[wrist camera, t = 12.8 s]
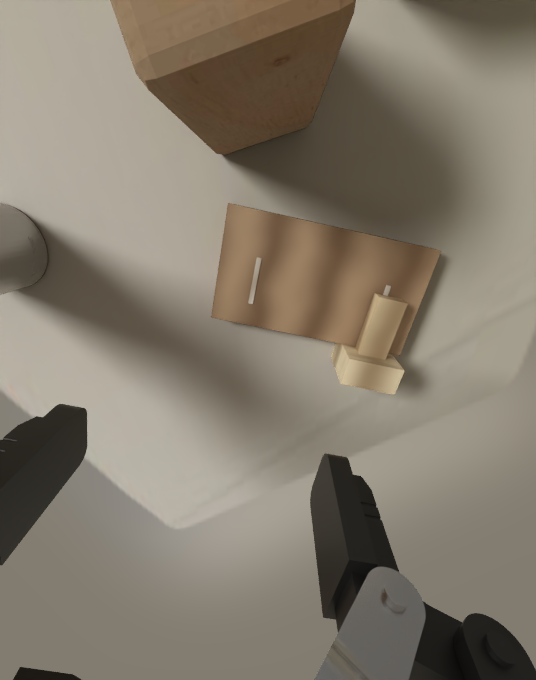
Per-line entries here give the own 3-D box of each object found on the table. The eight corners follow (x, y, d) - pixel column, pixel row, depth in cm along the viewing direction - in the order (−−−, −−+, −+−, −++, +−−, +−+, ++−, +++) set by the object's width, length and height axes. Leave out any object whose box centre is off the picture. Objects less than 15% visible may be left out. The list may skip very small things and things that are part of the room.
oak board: (215, 310, 38) (211, 317, 36) (231, 203, 34) (227, 203, 32) (392, 347, 40) (400, 356, 37) (430, 248, 35) (441, 250, 33)
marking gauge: (331, 357, 40) (340, 383, 34) (355, 284, 37) (370, 298, 31) (377, 367, 41) (394, 395, 35) (405, 295, 37) (430, 312, 31)
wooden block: (313, 127, 31) (368, 5, 13) (216, 159, 32) (136, 91, 14) (288, -5, 28) (310, -440, 9) (180, 37, 29) (6, -271, 10)
